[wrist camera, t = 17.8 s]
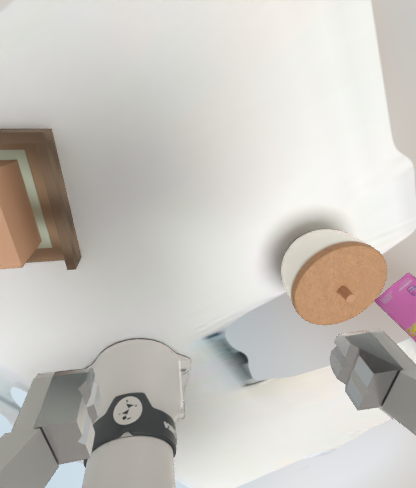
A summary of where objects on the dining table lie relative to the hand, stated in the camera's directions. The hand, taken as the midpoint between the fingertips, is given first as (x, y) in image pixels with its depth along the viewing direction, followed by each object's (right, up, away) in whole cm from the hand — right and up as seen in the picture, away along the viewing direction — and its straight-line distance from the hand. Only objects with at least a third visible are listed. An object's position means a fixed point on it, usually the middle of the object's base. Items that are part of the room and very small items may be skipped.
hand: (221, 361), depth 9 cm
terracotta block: (-23, +8, +23) cm, 34 cm away
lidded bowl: (+15, +3, +34) cm, 38 cm away
